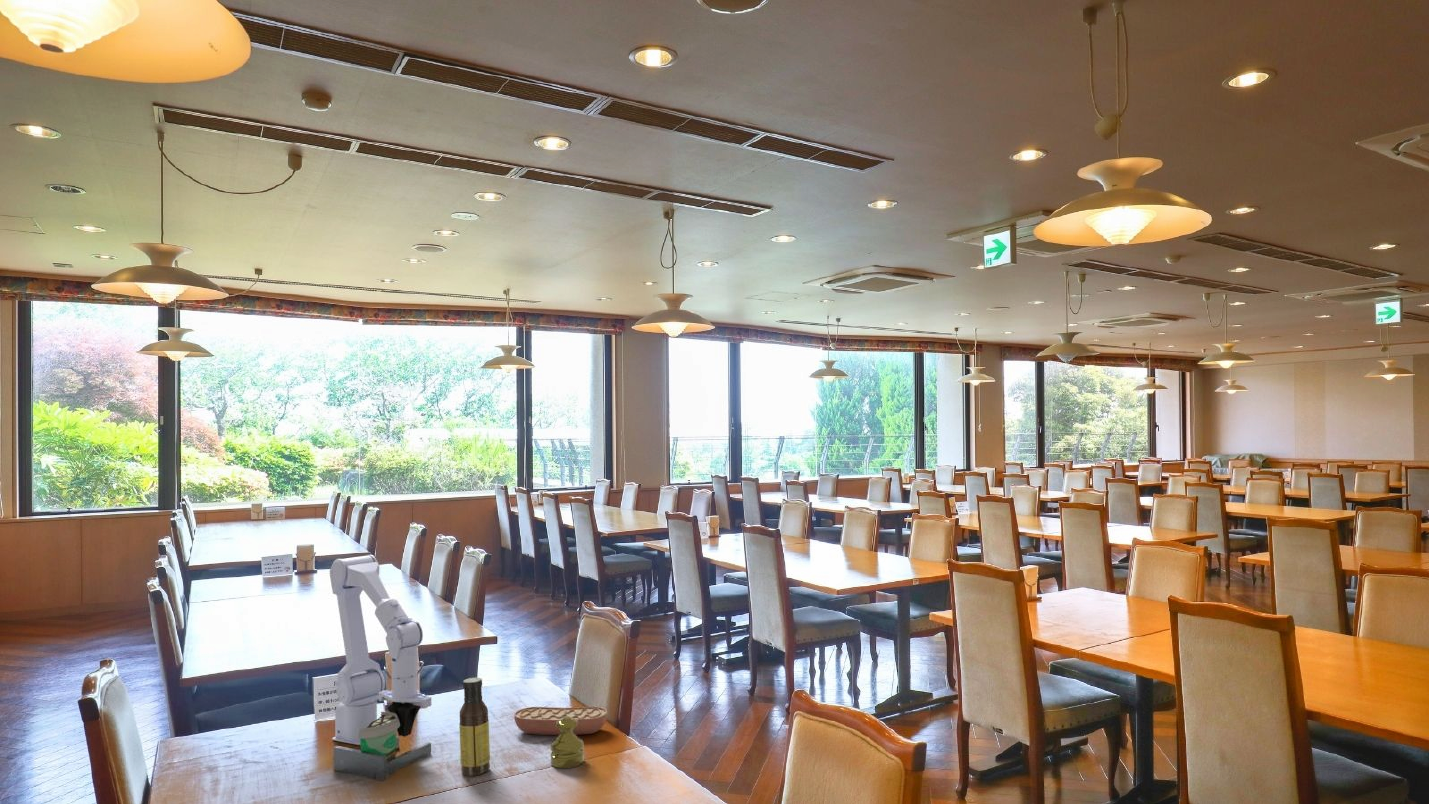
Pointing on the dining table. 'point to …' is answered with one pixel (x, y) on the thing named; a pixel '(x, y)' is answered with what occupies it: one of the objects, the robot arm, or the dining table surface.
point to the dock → (375, 761)
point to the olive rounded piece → (567, 745)
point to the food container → (381, 735)
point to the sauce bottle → (474, 730)
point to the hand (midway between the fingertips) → (404, 734)
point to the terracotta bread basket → (546, 718)
